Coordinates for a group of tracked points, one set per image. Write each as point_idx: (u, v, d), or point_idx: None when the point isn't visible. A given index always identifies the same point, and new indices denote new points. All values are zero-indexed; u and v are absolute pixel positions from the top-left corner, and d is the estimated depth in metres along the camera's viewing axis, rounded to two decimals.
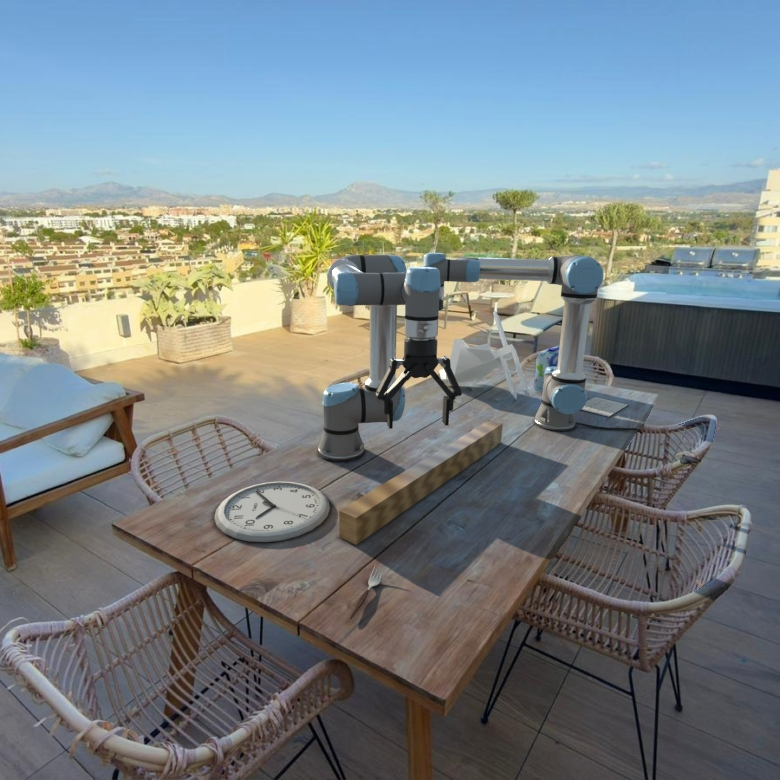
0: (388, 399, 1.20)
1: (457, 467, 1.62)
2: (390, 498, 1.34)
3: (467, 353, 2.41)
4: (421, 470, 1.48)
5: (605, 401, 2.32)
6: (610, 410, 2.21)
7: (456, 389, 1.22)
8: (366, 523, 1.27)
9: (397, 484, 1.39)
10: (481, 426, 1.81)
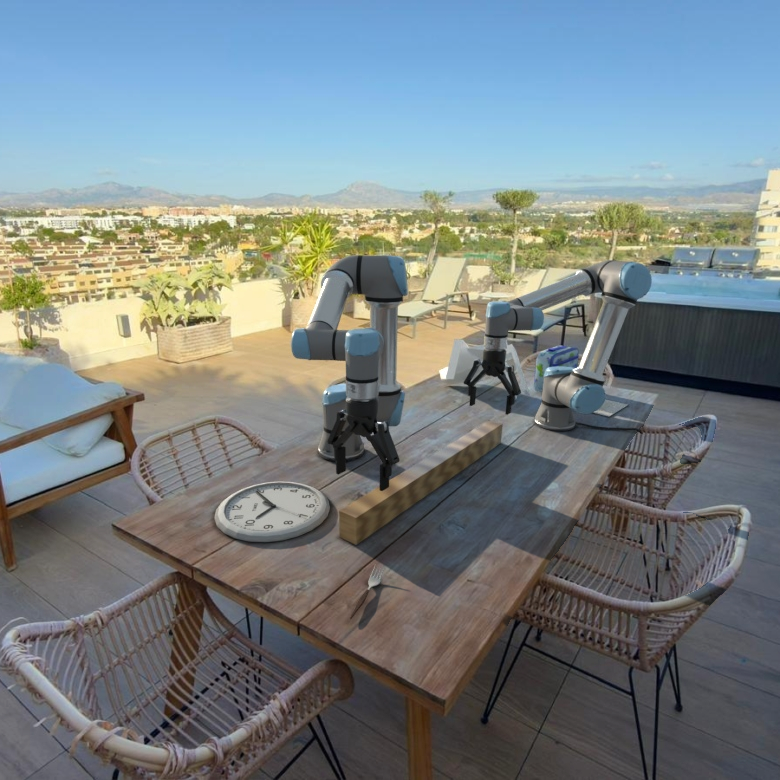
0: (335, 446, 1.28)
1: (457, 467, 1.62)
2: (390, 498, 1.34)
3: (467, 353, 2.41)
4: (421, 470, 1.48)
5: (605, 401, 2.32)
6: (610, 410, 2.21)
7: (388, 457, 1.18)
8: (366, 523, 1.27)
9: (397, 484, 1.39)
10: (481, 426, 1.81)
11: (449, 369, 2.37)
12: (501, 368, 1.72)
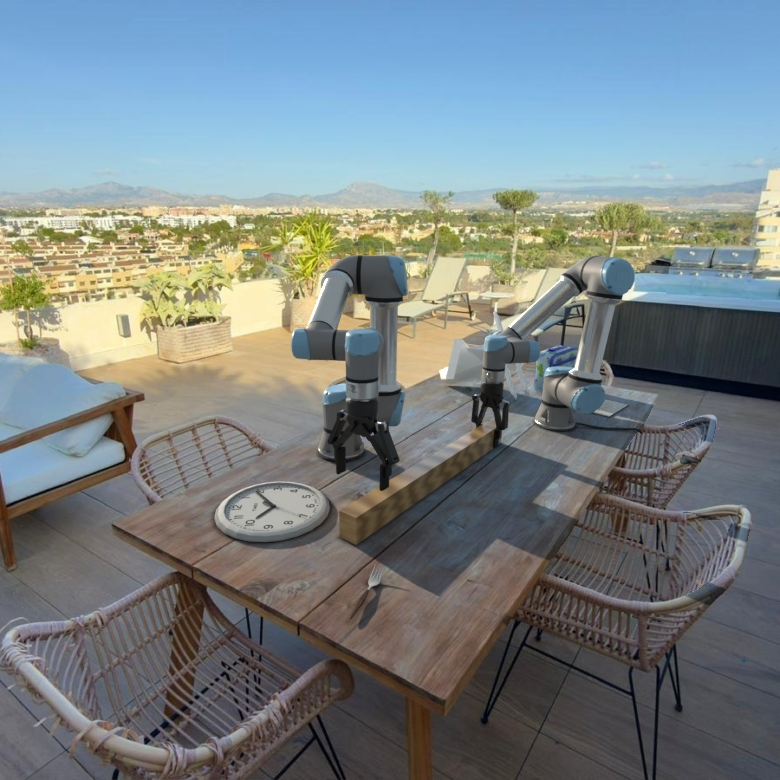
0: (335, 446, 1.28)
1: (457, 467, 1.62)
2: (390, 498, 1.34)
3: (467, 353, 2.41)
4: (421, 470, 1.48)
5: (605, 401, 2.32)
6: (610, 410, 2.21)
7: (388, 457, 1.18)
8: (366, 523, 1.27)
9: (397, 484, 1.39)
10: (481, 426, 1.81)
11: (449, 369, 2.37)
12: (499, 400, 1.76)
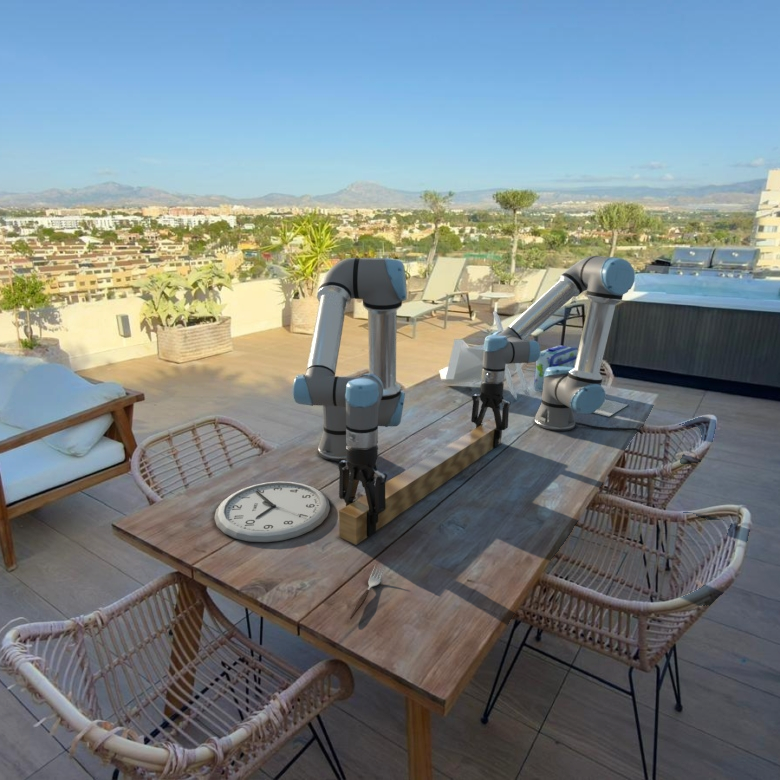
0: (346, 501, 1.30)
1: (457, 467, 1.62)
2: (390, 498, 1.34)
3: (467, 353, 2.41)
4: (421, 470, 1.48)
5: (605, 401, 2.32)
6: (610, 410, 2.21)
7: (376, 506, 1.24)
8: (366, 523, 1.27)
9: (397, 484, 1.39)
10: (481, 426, 1.81)
11: (449, 369, 2.37)
12: (499, 400, 1.76)
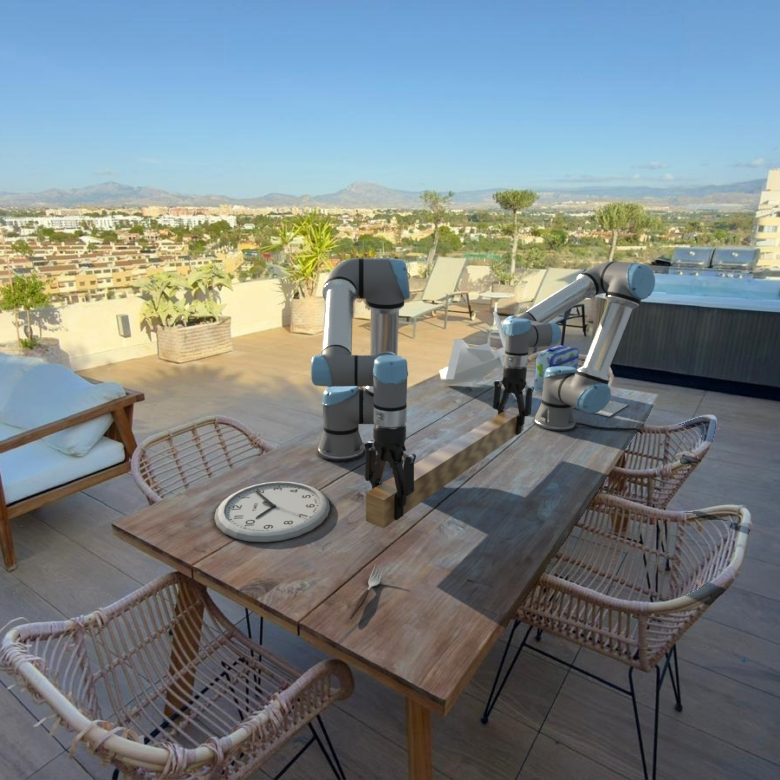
0: (373, 483, 1.25)
1: (482, 452, 1.57)
2: (417, 481, 1.29)
3: (467, 353, 2.41)
4: (446, 454, 1.43)
5: None
6: (610, 410, 2.21)
7: (404, 488, 1.19)
8: None
9: (423, 467, 1.35)
10: (503, 413, 1.77)
11: (449, 369, 2.37)
12: (522, 385, 1.71)
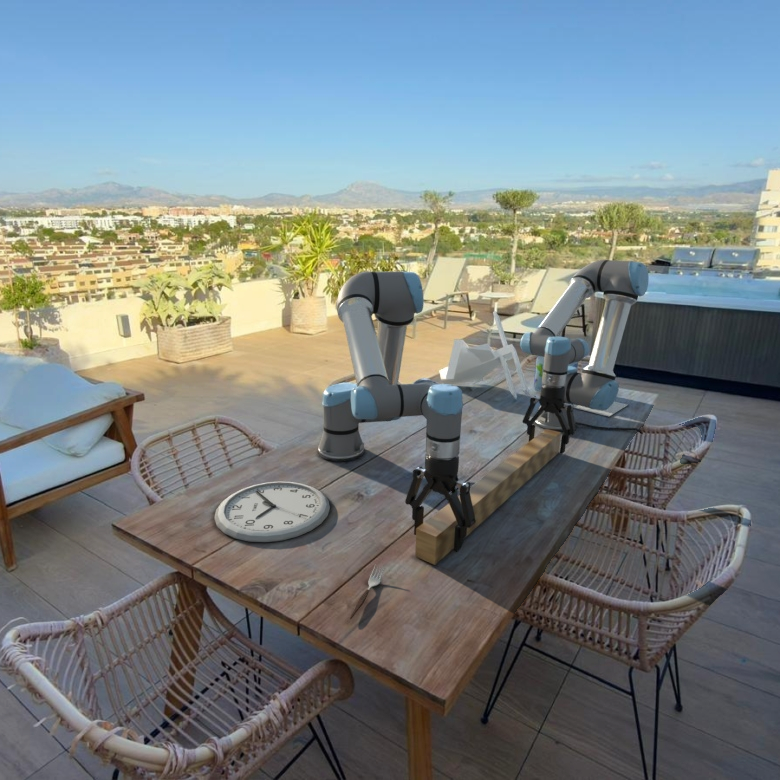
0: (414, 507, 1.23)
1: (522, 479, 1.55)
2: None
3: (467, 353, 2.41)
4: (490, 483, 1.41)
5: None
6: (610, 410, 2.21)
7: (466, 519, 1.15)
8: (444, 541, 1.20)
9: None
10: (540, 435, 1.74)
11: (449, 369, 2.37)
12: (560, 405, 1.68)
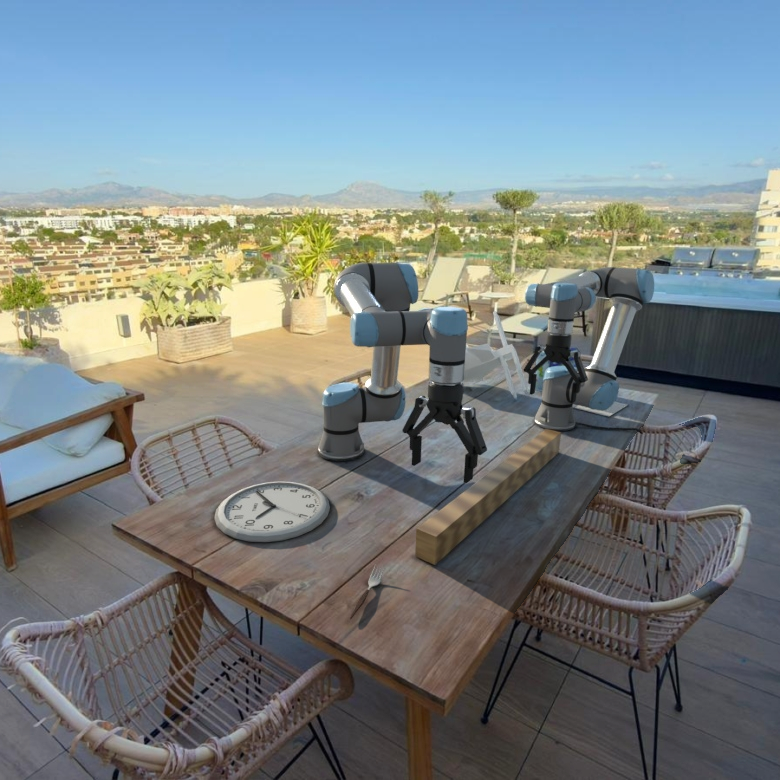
0: (411, 435, 1.19)
1: (522, 479, 1.55)
2: (465, 514, 1.27)
3: (467, 353, 2.41)
4: (490, 483, 1.41)
5: None
6: (610, 410, 2.21)
7: (476, 446, 1.09)
8: (444, 541, 1.20)
9: (470, 499, 1.32)
10: (540, 435, 1.74)
11: None
12: (566, 354, 1.63)
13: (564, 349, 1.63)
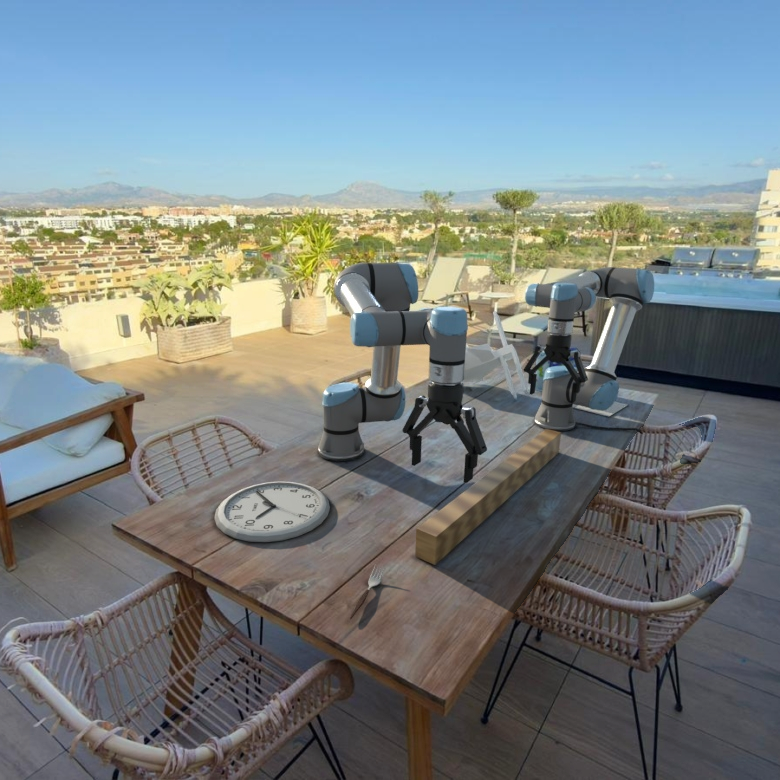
0: (411, 435, 1.19)
1: (522, 479, 1.55)
2: (465, 514, 1.27)
3: (467, 353, 2.41)
4: (490, 483, 1.41)
5: None
6: (610, 410, 2.21)
7: (476, 446, 1.09)
8: (444, 541, 1.20)
9: (470, 499, 1.32)
10: (540, 435, 1.74)
11: None
12: (566, 354, 1.63)
13: (564, 349, 1.63)
